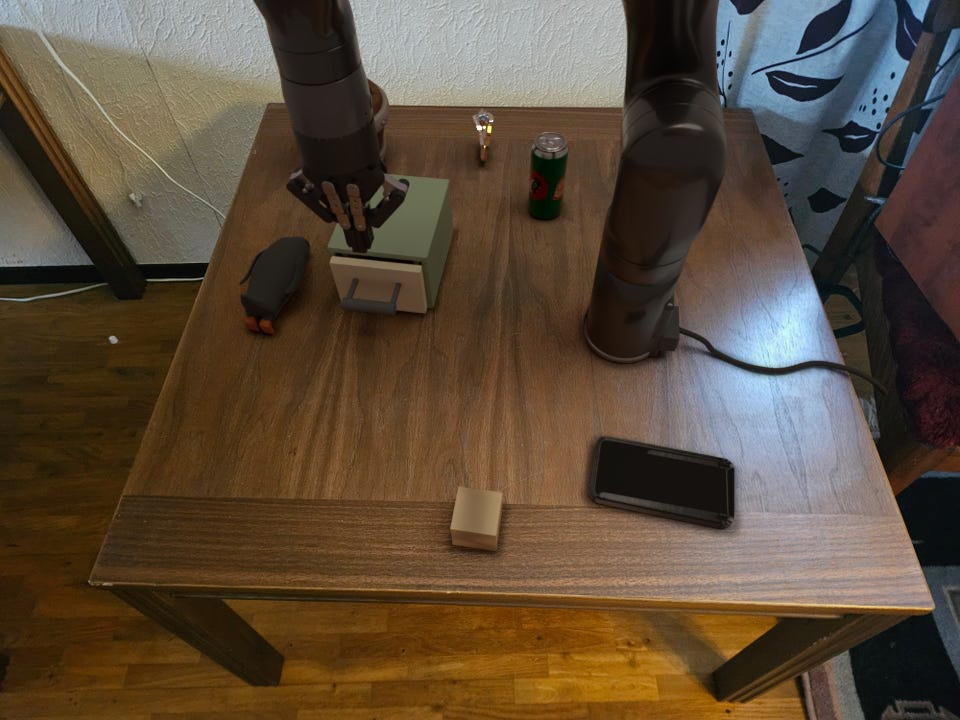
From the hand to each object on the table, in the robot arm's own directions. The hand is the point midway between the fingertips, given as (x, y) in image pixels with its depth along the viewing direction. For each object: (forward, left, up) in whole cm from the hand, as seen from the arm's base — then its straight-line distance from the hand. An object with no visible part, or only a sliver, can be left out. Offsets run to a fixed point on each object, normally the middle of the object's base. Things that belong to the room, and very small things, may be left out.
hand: (362, 247), depth 72 cm
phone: (-36, +17, -14) cm, 42 cm away
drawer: (0, -6, -13) cm, 14 cm away
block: (-17, +25, -14) cm, 33 cm away
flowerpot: (+13, -32, -14) cm, 37 cm away
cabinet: (0, -11, -14) cm, 18 cm away
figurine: (+14, -4, -14) cm, 20 cm away
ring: (-8, -36, -14) cm, 39 cm away
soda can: (-19, -25, -14) cm, 34 cm away
